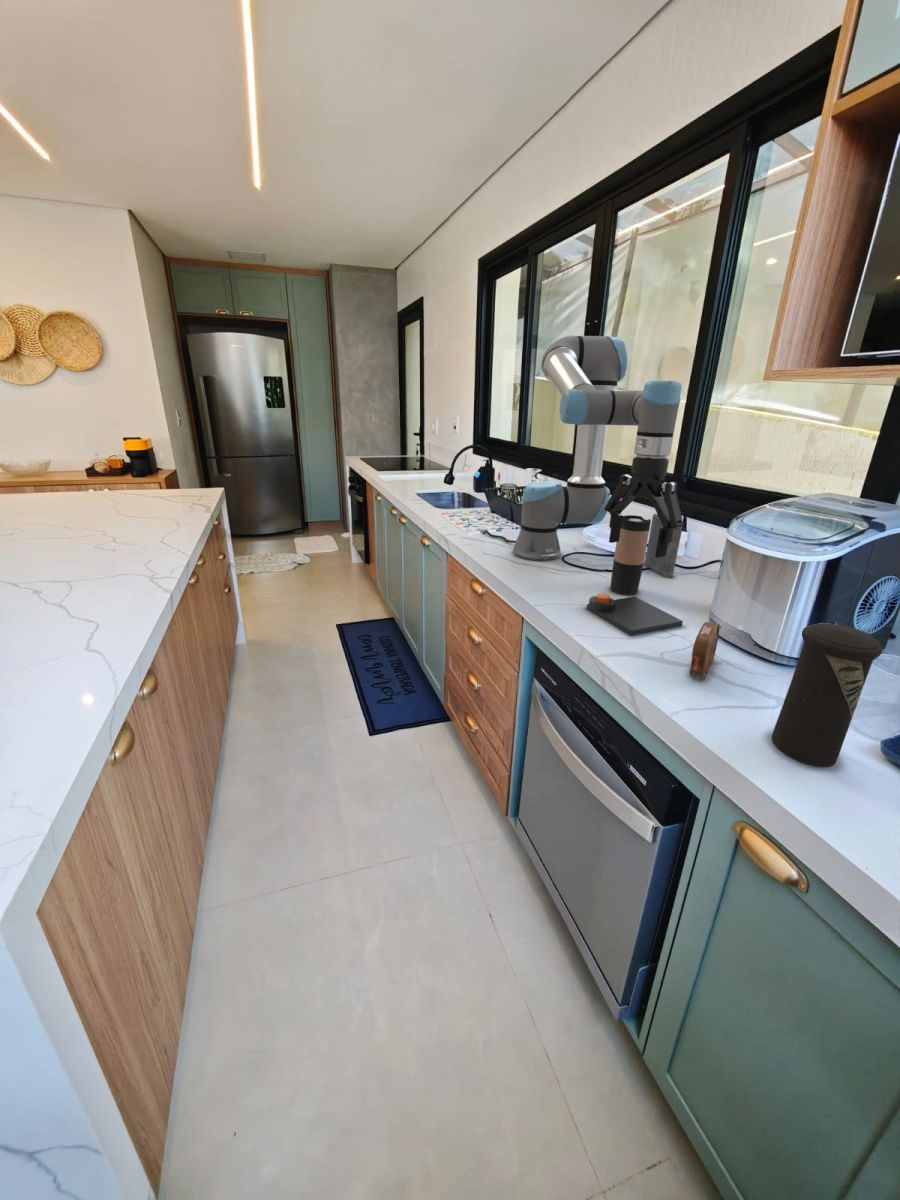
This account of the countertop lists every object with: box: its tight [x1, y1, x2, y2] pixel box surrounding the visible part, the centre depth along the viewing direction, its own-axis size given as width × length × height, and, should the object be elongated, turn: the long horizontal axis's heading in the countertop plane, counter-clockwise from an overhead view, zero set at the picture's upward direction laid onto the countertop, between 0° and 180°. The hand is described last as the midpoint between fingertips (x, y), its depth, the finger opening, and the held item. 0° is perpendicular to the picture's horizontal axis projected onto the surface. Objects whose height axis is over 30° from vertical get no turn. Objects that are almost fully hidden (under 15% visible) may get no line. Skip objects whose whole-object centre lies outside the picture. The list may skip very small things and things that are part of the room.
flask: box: [644, 513, 684, 578], centre depth 151 cm, size 4×14×18 cm, turn 6°
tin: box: [688, 621, 720, 681], centre depth 97 cm, size 15×3×8 cm, turn 145°
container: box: [771, 623, 883, 768], centre depth 73 cm, size 9×9×20 cm
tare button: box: [595, 593, 611, 604], centre depth 122 cm, size 3×3×2 cm
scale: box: [586, 595, 684, 637], centre depth 120 cm, size 16×16×3 cm
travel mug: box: [609, 514, 652, 596], centre depth 133 cm, size 8×8×20 cm
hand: (635, 548), depth 119 cm, fingers open, 13 cm apart
